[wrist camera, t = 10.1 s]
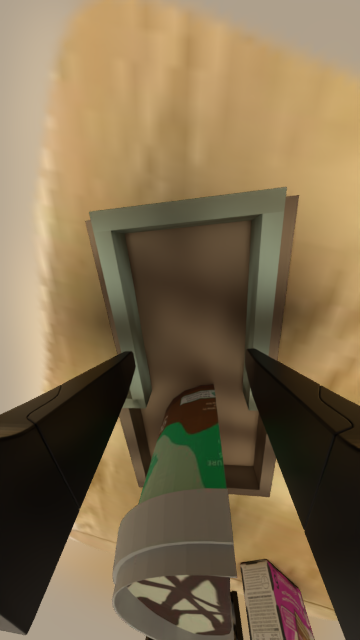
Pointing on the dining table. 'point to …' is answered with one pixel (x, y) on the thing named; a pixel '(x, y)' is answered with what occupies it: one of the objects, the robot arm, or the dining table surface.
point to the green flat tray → (197, 313)
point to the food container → (180, 532)
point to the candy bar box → (273, 604)
